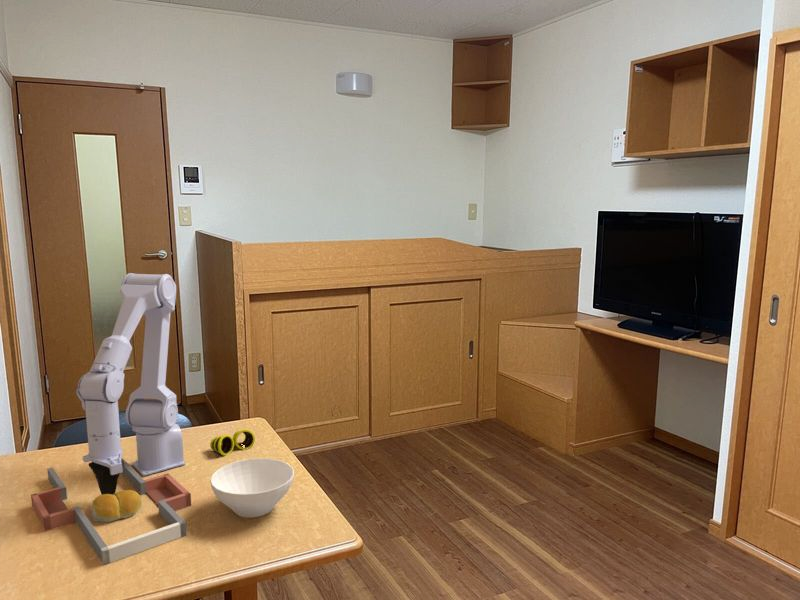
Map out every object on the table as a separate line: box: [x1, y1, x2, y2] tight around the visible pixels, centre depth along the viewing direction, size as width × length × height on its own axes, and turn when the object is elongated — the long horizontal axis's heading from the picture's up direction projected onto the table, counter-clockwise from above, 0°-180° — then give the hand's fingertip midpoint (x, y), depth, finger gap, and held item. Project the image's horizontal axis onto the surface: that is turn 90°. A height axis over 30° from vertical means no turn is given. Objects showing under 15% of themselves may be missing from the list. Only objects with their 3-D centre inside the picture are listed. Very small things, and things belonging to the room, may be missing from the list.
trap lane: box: [30, 457, 192, 566], centre depth 119 cm, size 24×41×2 cm, turn 41°
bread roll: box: [90, 489, 143, 523], centre depth 116 cm, size 8×9×4 cm
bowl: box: [210, 457, 295, 519], centre depth 118 cm, size 16×16×7 cm
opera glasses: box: [209, 428, 256, 457], centre depth 146 cm, size 10×5×5 cm, turn 133°
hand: (108, 495), depth 120 cm, fingers closed
